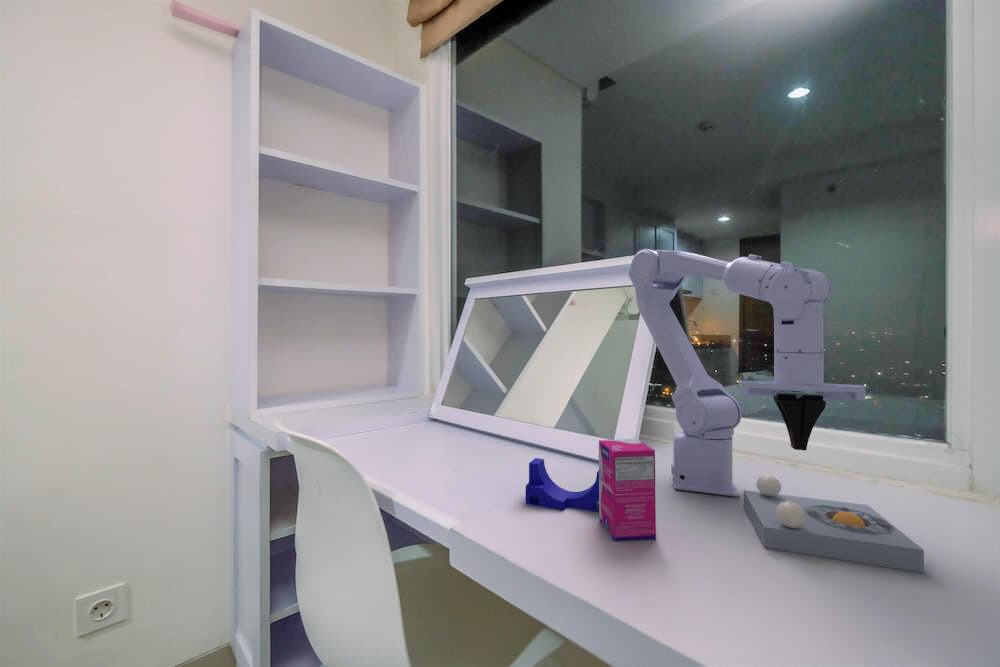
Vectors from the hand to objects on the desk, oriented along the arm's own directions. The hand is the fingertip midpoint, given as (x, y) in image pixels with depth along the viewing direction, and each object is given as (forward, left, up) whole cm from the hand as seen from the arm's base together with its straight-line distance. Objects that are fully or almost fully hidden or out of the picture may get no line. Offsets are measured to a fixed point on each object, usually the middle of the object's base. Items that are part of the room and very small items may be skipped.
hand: (798, 448), depth 59 cm
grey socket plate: (+1, -5, -10) cm, 11 cm away
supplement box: (-23, -13, -10) cm, 28 cm away
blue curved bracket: (-32, -7, -10) cm, 34 cm away
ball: (+4, -5, -8) cm, 10 cm away
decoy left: (-4, 0, -6) cm, 7 cm away
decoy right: (-4, -10, -6) cm, 12 cm away
